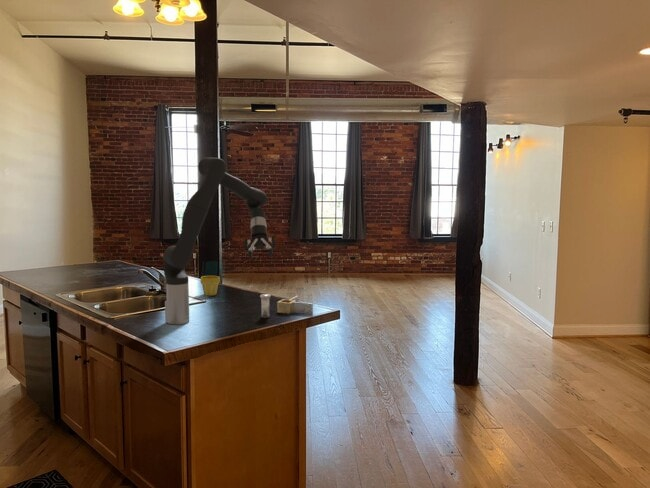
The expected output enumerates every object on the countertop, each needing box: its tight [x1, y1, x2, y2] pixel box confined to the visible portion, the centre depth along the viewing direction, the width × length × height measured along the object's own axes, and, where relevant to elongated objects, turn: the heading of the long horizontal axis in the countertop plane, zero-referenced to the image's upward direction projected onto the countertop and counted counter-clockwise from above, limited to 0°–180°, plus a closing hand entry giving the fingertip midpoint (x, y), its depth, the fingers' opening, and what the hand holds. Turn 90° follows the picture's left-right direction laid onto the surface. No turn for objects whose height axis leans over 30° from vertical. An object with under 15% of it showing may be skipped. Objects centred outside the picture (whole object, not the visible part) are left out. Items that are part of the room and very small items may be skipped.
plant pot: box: [200, 275, 221, 296], centre depth 269 cm, size 10×10×10 cm
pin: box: [259, 293, 272, 319], centre depth 221 cm, size 5×5×10 cm
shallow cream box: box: [276, 295, 314, 315], centre depth 233 cm, size 17×17×5 cm
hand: (260, 258), depth 223 cm, fingers open, 8 cm apart
